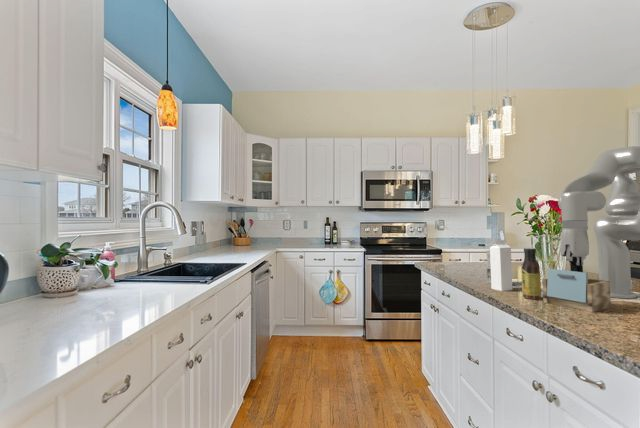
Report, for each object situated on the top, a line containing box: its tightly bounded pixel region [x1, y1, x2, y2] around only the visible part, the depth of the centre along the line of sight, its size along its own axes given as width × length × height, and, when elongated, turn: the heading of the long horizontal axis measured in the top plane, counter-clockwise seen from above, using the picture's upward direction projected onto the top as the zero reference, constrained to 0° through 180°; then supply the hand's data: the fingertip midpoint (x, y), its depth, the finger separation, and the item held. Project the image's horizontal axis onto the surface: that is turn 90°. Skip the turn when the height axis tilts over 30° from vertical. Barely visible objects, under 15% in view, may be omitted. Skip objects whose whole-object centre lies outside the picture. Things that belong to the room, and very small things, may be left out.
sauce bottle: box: [521, 247, 542, 301], centre depth 133 cm, size 6×6×20 cm
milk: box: [489, 239, 513, 292], centre depth 151 cm, size 6×6×22 cm
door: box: [546, 268, 589, 303], centre depth 119 cm, size 10×12×2 cm
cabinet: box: [542, 277, 612, 313], centre depth 121 cm, size 12×16×9 cm
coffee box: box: [486, 250, 491, 285], centre depth 164 cm, size 9×6×16 cm
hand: (576, 276), depth 122 cm, fingers closed
